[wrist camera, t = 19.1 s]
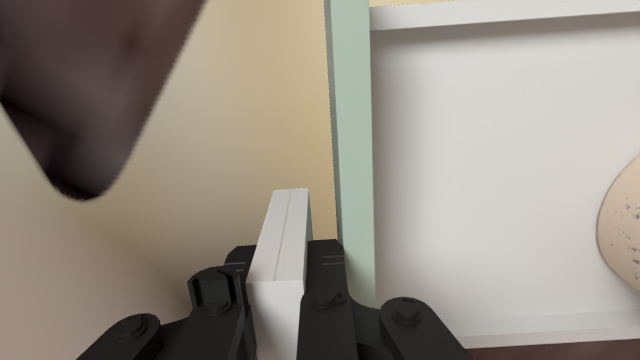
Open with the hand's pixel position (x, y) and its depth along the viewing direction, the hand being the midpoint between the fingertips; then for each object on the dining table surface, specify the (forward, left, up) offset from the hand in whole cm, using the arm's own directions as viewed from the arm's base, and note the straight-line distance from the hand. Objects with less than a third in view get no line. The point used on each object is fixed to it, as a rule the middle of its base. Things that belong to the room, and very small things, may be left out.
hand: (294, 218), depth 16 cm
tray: (0, +14, -3) cm, 14 cm away
